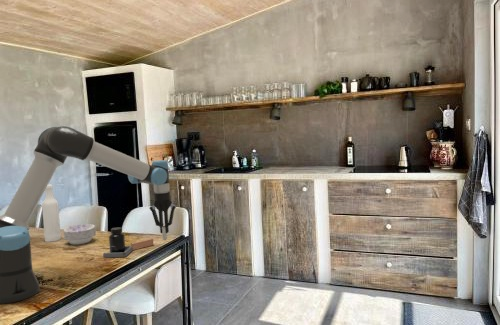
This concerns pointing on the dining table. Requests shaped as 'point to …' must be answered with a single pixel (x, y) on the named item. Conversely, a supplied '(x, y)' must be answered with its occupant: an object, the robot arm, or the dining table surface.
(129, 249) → the holder
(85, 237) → the paper bowls
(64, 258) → the dining table surface
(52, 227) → the bottle
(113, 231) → the supplement bottle
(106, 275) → the dining table surface
